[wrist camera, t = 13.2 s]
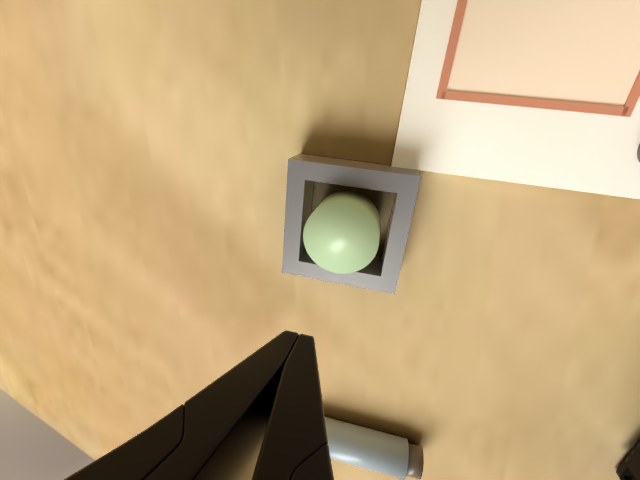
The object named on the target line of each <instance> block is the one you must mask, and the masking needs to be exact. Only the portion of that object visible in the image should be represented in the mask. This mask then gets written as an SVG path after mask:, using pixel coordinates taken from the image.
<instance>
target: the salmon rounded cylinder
mask: <svg viewBox="0 0 640 480" xmlns="http://www.w3.org/2000/svg"><path fill="white" fill-rule="evenodd" d="M637 157H638V160H639V162H640V144H639V146H638V150H637Z"/></svg>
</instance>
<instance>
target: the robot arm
mask: <svg viewBox="0 0 640 480" xmlns="http://www.w3.org/2000/svg"><path fill="white" fill-rule="evenodd" d="M616 473H617V475H618V477H619V478H620V479H621V480H640V440H639V441H638V442H637V444H636V445H635V446H634V447H633V449H632V450H631V451H630V453H629V454H628V455H627V457H626V458H625V459H624V461H623V462H622V463H621V465H620V466H619V467H618V469H617V470H616ZM64 480H334V477H333V471H332V465H331V459H330V451H329V446H328V438H327V431H326V423H325V416H324V409H323V401H322V394H321V387H320V379H319V372H318V364H317V357H316V350H315V342H314V338H313V336H309V335H304V334H300V335H299V334H298V333H295V332H291V331H284V332H282V333H281V334H279V335H278V336H277V337H275V338H274V339H272V340H271V341H270V342H268V343H267V344H265V345H264V346H263V347H261V348H260V349H258V350H257V351H256V352H254V353H253V354H252V355H250V356H249V357H247V358H246V359H245V360H243V361H242V362H240V363H239V364H238V365H236V366H235V367H233V368H232V369H231V370H229V371H228V372H227V373H225V374H224V375H222V376H221V377H220V378H218V379H217V380H215V381H214V382H213V383H211V384H210V385H208V386H207V387H206V388H204V389H203V390H201V391H200V392H199V393H197V394H196V395H195V396H193V397H192V398H190V399H189V400H188V401H186V402H185V404H184V405H180V406H179V407H178V408H176V409H175V410H173V411H172V412H171V413H169V414H168V415H166V416H165V417H164V418H162V419H161V420H159V421H158V422H156V423H155V424H153V425H152V426H150V427H149V428H147V429H146V430H144V431H143V432H141V433H140V434H138V435H137V436H135V437H133V438H132V439H130V440H129V441H127V442H125V443H124V444H122V445H121V446H119V447H117V448H116V449H114V450H112V451H111V452H109V453H107V454H106V455H104V456H102V457H101V458H99V459H97V460H96V461H94V462H92V463H91V464H89V465H87V466H86V467H84V468H82V469H81V470H79V471H77V472H76V473H74V474H72V475H71V476H69V477H67V478H66V479H64Z"/></svg>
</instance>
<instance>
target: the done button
mask: <svg viewBox="0 0 640 480" xmlns="http://www.w3.org/2000/svg"><path fill="white" fill-rule="evenodd" d="M380 227H381V221H380V216H379V213H378V211H377V209H376V207H375V206H374V204H373V203H372V202H371V201H370V200H369V199H368V198H366V197H365V196H363V195H361V194H359V193H356V192H352V191H340V192H336V193H333V194H331V195H329V196H327V197H326V198H325V199H324V200H322V202H321V203H320V204H319V205H318V206H317V208H316V209H315V210H314V211H313V213H312V214H311V215H310V216H309V218H308V220H307V222H306V224H305V227H304V231H303V241H304V245H305V248H306V251H307V253H308V255H309V256H310V257H311V259H312V260H313V261H314V262H315V263H316V264H317V265H319V266H320V267H322V268H323V269H325V270H327V271H330V272H334V273H339V274H347V273H353V272H356V271H359V270H361V269H363V268H364V267H366V266H367V265H368V264H369V263H370V262H371V261H372V260H373V259H374V257H375V255H376V253H377V251H378V247H379V238H380Z"/></svg>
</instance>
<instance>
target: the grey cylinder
mask: <svg viewBox="0 0 640 480" xmlns="http://www.w3.org/2000/svg"><path fill="white" fill-rule="evenodd" d="M325 423H326V431H327V438H328V446H329V451H330V459H333V460H337V461H340V462H344V463H347V464H351V465H354V466H358V467H361V468H365V469H368V470H372V471H375V472H379V473H382V474H386V475H389V476H393V477H396V478H400V479H403V480H404V479H405V477H406V476H410V477H413V478H417V479H421V476H422V472H423V449H422V447H421V446H417V445H413V444H410V443H408V440H407V438H403V437H399V436H396V435H392V434H388V433H384V432H381V431H377V430H373V429H369V428H366V427H362V426H358V425H354V424H350V423H347V422H343V421H339V420H335V419H332V418H328V417H325Z"/></svg>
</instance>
